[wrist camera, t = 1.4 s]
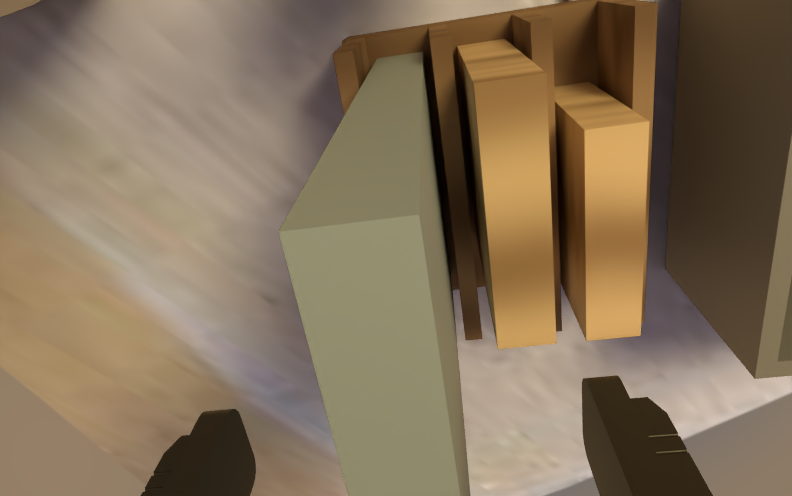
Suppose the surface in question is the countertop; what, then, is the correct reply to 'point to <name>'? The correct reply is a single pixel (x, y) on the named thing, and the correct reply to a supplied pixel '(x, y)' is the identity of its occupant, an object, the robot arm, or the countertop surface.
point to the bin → (735, 175)
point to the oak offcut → (511, 188)
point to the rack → (564, 64)
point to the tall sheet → (382, 292)
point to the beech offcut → (601, 209)
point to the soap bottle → (14, 5)
